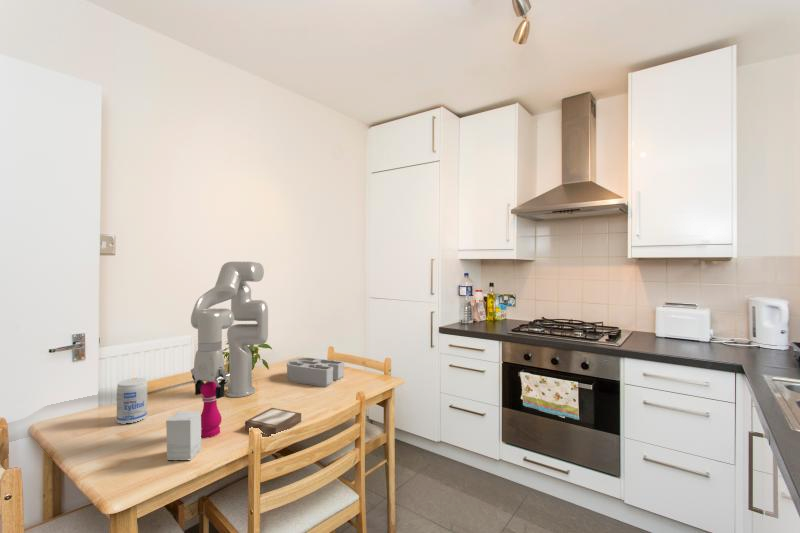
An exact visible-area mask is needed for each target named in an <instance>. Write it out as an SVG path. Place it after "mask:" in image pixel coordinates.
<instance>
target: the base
mask: <svg viewBox="0 0 800 533" xmlns="http://www.w3.org/2000/svg"><path fill="white" fill-rule="evenodd" d="M301 422H302V412H296V411H291V410H288V409H287V410H285V409H281V408H275V407H270V408H269V409H267V410H265V411H262V412H261V413H258V414H256V415H254V416H253V417H250V418H249V419H247V420H245V421H244V430H245V431H246V430H249V428H251V427H253V428H259V429H260V430H261V431H262V432H263V433H265V434H267V435H266V436H268V435H271V434H276V433H278V432H281V431H284V430H287V429H289V430H290V429H292V428H293V427H295V426H296V425H299V424H300V423H301ZM287 431H288V430H287Z"/></svg>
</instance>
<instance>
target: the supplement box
mask: <svg viewBox="0 0 800 533" xmlns="http://www.w3.org/2000/svg"><path fill="white" fill-rule="evenodd" d="M201 414H202V411H201V410H193V411H191V410H190V411H189V410H188V411H177V412H176V413H175V414H172V416H171V417H169V418H168V419H167V420H165V421H166V422H165V423H166V461H167V460H188V459H192V458H193V457H194V456H195V455H196V453H197V452H198V451H199V450H200V449H201V450H202V437H201V429H202V428H201ZM201 450H200V451H201ZM200 451H199V452H200ZM199 452H198V453H199ZM196 456H197V455H196ZM196 456H195V457H196ZM193 459H194V458H193ZM193 459H192V460H193Z"/></svg>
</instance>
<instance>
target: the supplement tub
mask: <svg viewBox="0 0 800 533" xmlns="http://www.w3.org/2000/svg"><path fill="white" fill-rule="evenodd" d="M147 416H148V380H147V378H142V377H141V378H140V377H138V378H129V379H125V380H121V381H119V382H117V387H116V422H117V423H118V424H119V423H121V424H120V425H127V424H126V423H132V424H134V423H133V422H136V423H138V422H137V421H139V422H141V421H143V420H142V419H144V418H145V419H146V418H147ZM145 419H144V420H145ZM140 420H141V421H140Z"/></svg>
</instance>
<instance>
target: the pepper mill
mask: <svg viewBox="0 0 800 533" xmlns="http://www.w3.org/2000/svg"><path fill="white" fill-rule="evenodd" d="M216 387H217V385H216V383H215V381H213V382H209V381H205V382H204V384H203V385H202V387H201V394H200V395H201V396H202V397H201V398H202V400H201V401H202V402H203V408H202V411H201V436H202V437H201V438H204V437H209V438H212V437H211V436H214V437H216V436H218V435H219V434H220V433H221V426H220V425H221V423H222V419H223V418H222V416H221V413H220V411H219V408H218V404H217V401H218V399H216ZM217 434H218V435H217ZM215 435H216V436H215Z"/></svg>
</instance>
